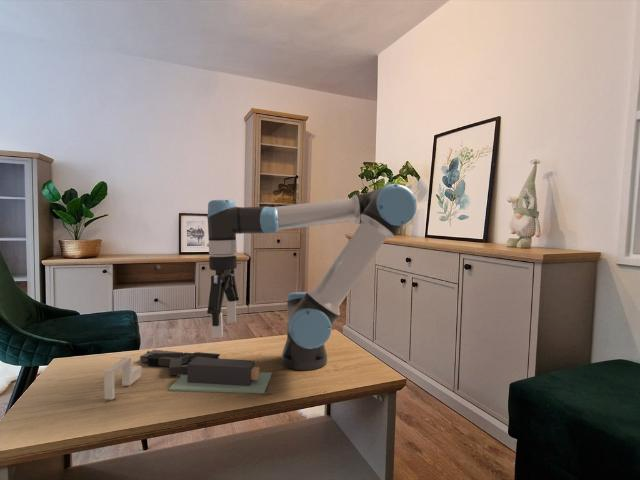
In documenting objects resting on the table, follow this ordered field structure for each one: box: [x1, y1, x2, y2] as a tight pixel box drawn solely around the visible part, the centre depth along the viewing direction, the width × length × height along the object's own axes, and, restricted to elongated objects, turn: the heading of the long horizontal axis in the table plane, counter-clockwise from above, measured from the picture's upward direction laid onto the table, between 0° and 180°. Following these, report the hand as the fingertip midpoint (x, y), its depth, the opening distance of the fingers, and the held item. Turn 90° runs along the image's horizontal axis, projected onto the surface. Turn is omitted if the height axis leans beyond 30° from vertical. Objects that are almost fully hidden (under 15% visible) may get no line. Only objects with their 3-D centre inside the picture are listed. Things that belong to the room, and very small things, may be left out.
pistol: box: [139, 349, 221, 376], centre depth 114 cm, size 2×26×15 cm
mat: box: [168, 371, 273, 394], centre depth 103 cm, size 26×12×1 cm, turn 88°
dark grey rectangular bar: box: [186, 357, 260, 386], centre depth 103 cm, size 20×5×5 cm, turn 84°
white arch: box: [103, 357, 142, 400], centre depth 99 cm, size 2×14×7 cm, turn 178°
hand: (224, 329), depth 103 cm, fingers open, 13 cm apart
